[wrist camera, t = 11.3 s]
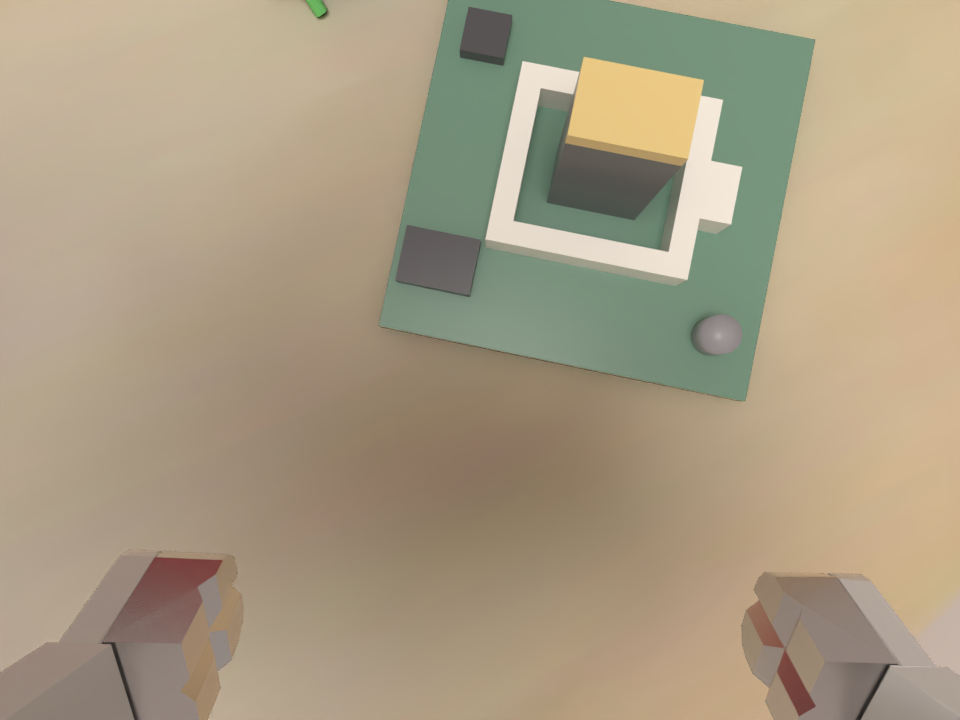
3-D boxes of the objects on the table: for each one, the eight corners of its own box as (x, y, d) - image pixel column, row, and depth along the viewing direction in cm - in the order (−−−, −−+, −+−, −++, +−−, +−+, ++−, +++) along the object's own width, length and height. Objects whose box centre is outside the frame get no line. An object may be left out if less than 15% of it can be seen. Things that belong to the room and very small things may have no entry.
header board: (382, 327, 34) (371, 322, 31) (455, -18, 34) (452, -56, 31) (737, 400, 33) (762, 402, 30) (805, 49, 34) (836, 17, 31)
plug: (546, 202, 33) (567, 135, 24) (558, 145, 33) (583, 56, 24) (634, 220, 33) (688, 158, 24) (645, 163, 33) (704, 79, 24)
